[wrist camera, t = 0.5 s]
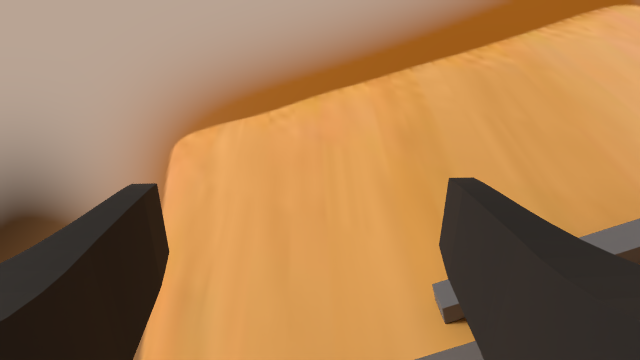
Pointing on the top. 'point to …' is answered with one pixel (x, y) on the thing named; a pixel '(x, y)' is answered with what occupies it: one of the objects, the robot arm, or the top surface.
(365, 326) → the top surface
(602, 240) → the bar
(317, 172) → the top surface
